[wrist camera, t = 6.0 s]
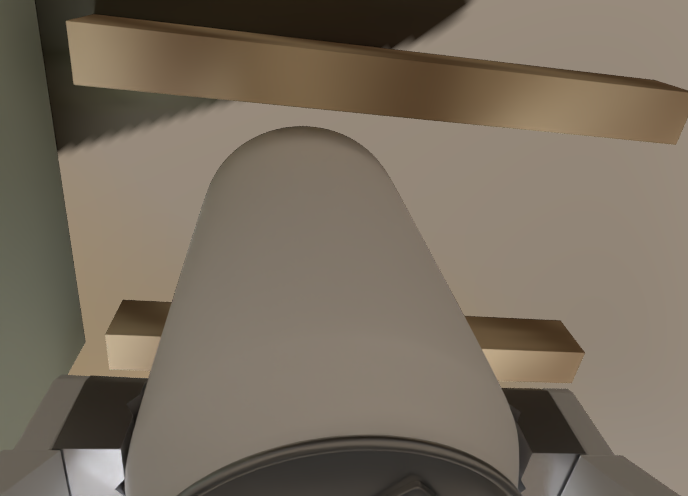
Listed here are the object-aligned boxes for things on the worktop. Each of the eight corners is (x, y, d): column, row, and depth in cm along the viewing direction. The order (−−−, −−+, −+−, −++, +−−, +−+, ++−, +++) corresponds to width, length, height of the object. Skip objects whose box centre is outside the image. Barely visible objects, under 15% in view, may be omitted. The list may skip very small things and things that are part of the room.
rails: (126, 332, 19) (109, 369, 18) (93, 13, 14) (65, 20, 12) (549, 349, 22) (571, 383, 20) (654, 80, 16) (698, 93, 15)
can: (162, 198, 17) (-32, 591, 6) (325, 78, 15) (426, 316, 5) (284, 323, 20) (292, 732, 9) (428, 231, 18) (628, 581, 8)
